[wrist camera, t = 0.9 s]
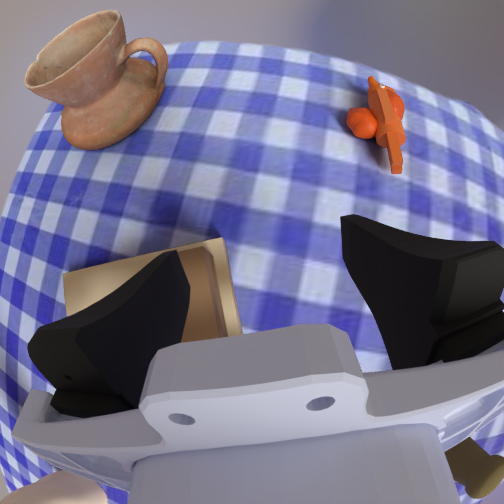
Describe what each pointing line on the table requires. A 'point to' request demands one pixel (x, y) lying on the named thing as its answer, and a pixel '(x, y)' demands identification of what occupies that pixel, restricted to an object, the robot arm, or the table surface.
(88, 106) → the ceramic jug
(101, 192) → the table surface
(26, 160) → the table surface
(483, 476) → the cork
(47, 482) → the water bottle
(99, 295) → the board
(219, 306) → the folding leg
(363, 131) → the orange blocky toy
